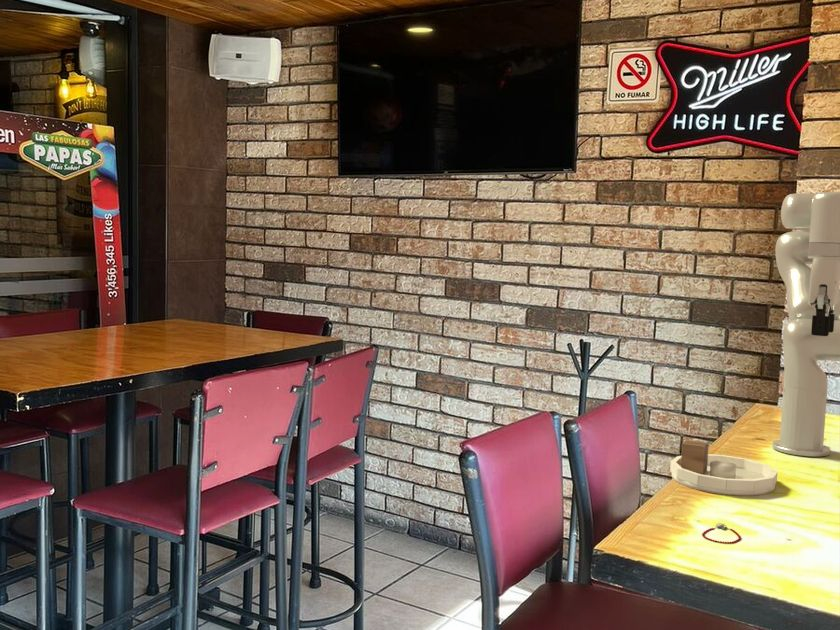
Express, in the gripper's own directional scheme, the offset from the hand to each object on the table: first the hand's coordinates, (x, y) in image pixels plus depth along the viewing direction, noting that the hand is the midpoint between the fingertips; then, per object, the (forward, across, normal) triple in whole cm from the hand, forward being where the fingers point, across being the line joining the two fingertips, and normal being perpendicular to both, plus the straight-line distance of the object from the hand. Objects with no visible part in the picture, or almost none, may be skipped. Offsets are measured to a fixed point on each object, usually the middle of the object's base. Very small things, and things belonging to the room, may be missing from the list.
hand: (822, 333), depth 176 cm
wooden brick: (+29, +17, -21) cm, 40 cm away
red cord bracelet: (+31, +51, -8) cm, 60 cm away
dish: (+30, +17, -15) cm, 38 cm away
